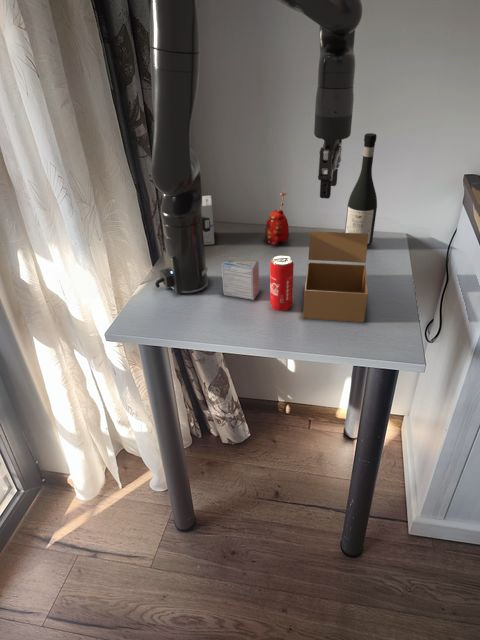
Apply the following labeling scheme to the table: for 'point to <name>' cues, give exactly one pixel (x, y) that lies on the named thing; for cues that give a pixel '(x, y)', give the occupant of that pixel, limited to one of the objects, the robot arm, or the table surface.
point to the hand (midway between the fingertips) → (328, 191)
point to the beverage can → (281, 282)
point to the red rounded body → (277, 227)
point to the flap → (338, 246)
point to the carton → (335, 292)
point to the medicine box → (240, 277)
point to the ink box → (207, 220)
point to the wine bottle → (363, 195)
